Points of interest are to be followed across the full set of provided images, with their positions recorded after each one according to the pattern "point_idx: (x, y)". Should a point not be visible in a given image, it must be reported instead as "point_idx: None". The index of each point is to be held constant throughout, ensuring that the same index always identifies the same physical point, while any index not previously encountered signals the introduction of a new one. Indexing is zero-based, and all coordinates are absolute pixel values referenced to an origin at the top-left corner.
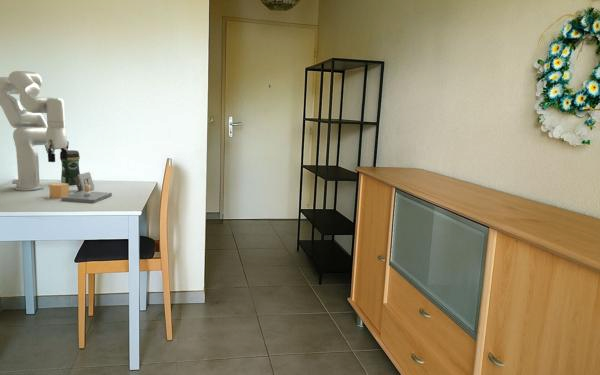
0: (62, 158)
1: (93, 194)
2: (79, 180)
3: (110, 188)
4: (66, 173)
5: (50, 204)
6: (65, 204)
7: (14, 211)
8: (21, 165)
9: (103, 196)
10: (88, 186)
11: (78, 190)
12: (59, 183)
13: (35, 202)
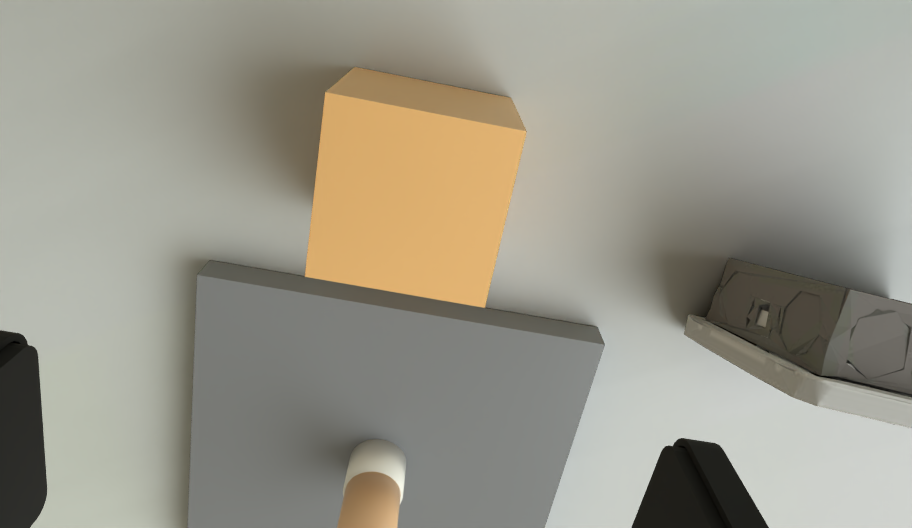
0: (657, 506)
1: (421, 499)
2: (759, 354)
3: (891, 493)
4: None
5: (9, 226)
6: (64, 355)
7: None
8: None
9: None
10: None
11: (732, 263)
12: (477, 190)
13: (35, 26)
